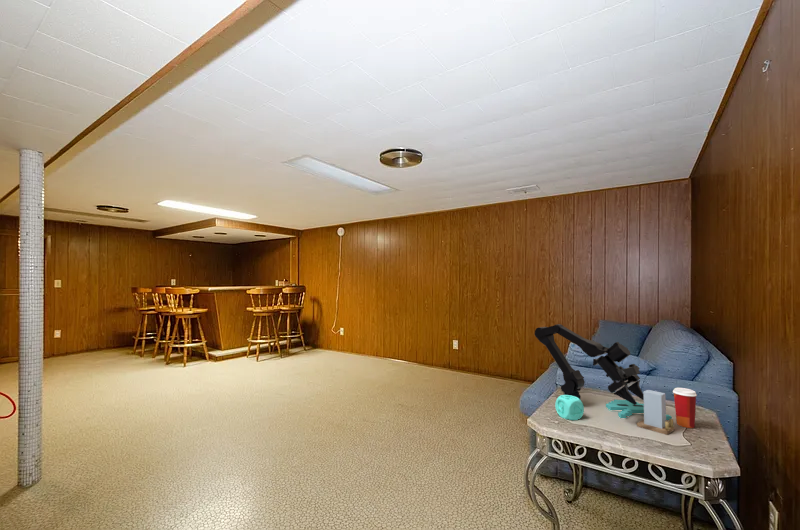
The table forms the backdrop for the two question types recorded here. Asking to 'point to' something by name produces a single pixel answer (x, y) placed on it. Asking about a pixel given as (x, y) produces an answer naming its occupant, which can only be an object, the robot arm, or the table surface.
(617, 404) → the alien figure
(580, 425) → the table surface
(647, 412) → the pale blue upright block
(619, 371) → the robot arm
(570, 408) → the decorative dice
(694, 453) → the table surface
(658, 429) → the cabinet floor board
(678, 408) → the paper cup
